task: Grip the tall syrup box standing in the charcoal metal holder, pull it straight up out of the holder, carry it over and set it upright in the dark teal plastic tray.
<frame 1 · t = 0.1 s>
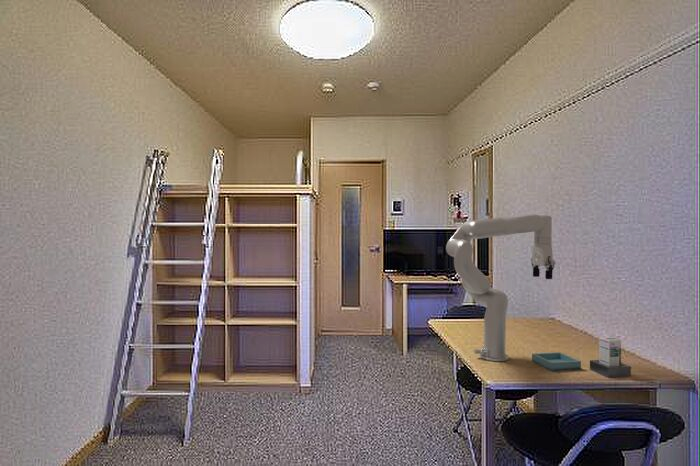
hand: (542, 277, 213), 37 cm above the table, tool pointing down, fingers open, 9 cm apart
holder: (609, 372, 189), on the table
syrup box: (609, 373, 189), resting in holder
tray: (555, 365, 198), on the table
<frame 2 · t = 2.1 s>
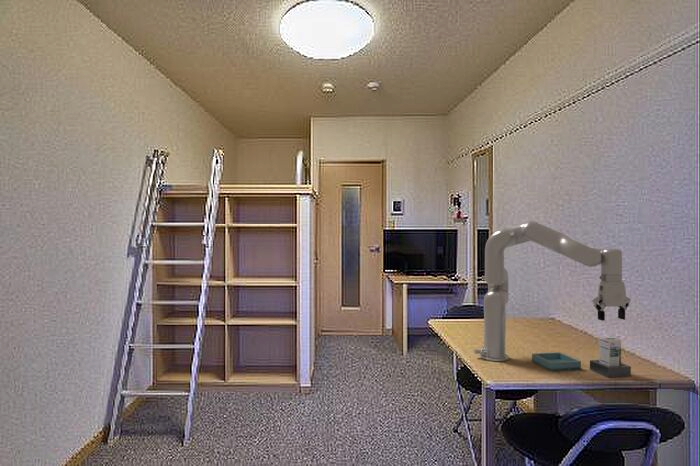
hand: (611, 319, 188), 22 cm above the table, tool pointing down, fingers open, 9 cm apart
nothing on the table moved.
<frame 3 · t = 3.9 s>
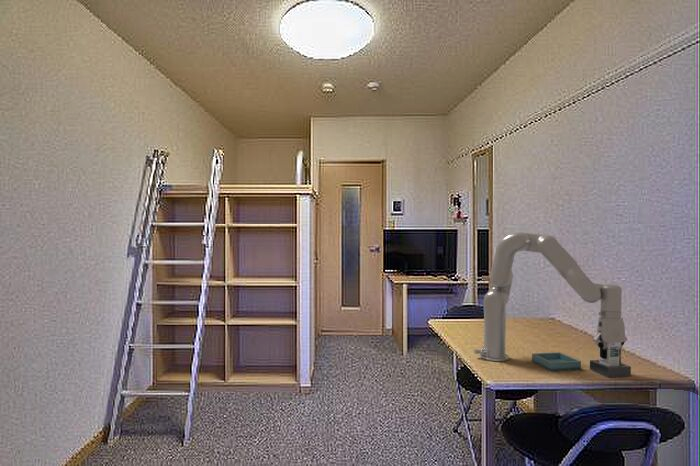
hand: (610, 357, 188), 7 cm above the table, tool pointing down, fingers closed on syrup box, 5 cm apart
syrup box: (609, 373, 189), resting in holder, touching gripper
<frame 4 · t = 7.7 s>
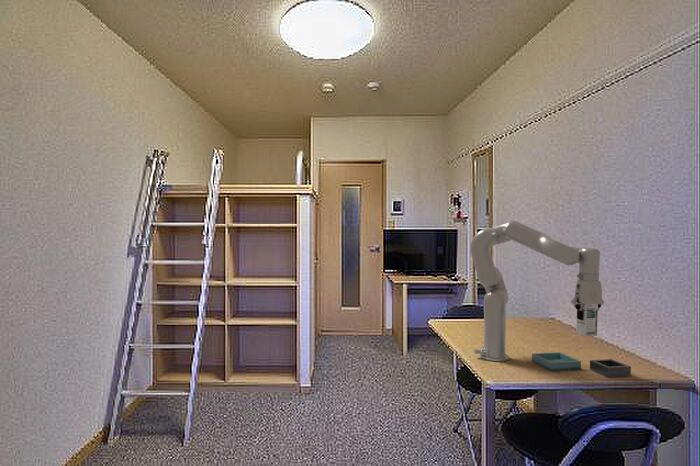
hand: (586, 319, 192), 22 cm above the table, tool pointing down, fingers closed on syrup box, 5 cm apart
syrup box: (586, 334, 192), point 15 cm above the table, touching gripper
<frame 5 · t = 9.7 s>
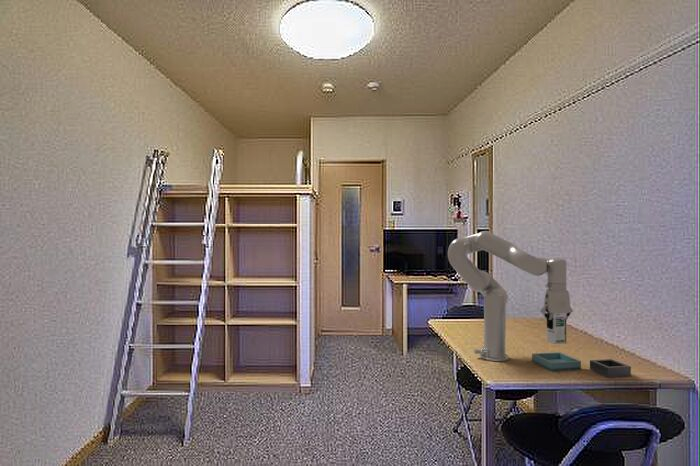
hand: (556, 327, 198), 17 cm above the table, tool pointing down, fingers closed on syrup box, 5 cm apart
syrup box: (556, 342, 198), point 10 cm above the table, touching gripper
when the fingers open (9 cm above the table, at t = 11.5 s): syrup box drops 1 cm, resting on tray.
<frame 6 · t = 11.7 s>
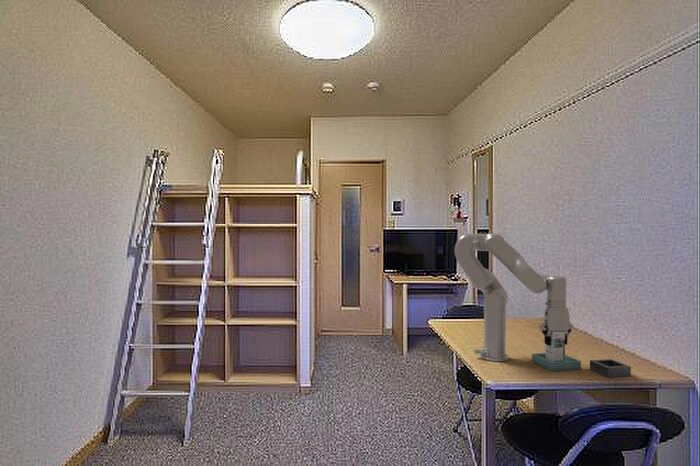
hand: (555, 344, 198), 9 cm above the table, tool pointing down, fingers open, 7 cm apart
syrup box: (554, 363, 198), point 1 cm above the table, touching tray
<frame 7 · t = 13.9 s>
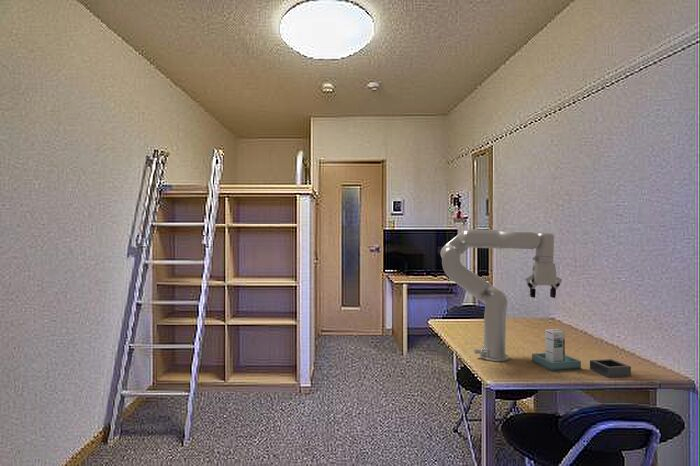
hand: (542, 297, 206), 29 cm above the table, tool pointing down, fingers open, 9 cm apart
nothing on the table moved.
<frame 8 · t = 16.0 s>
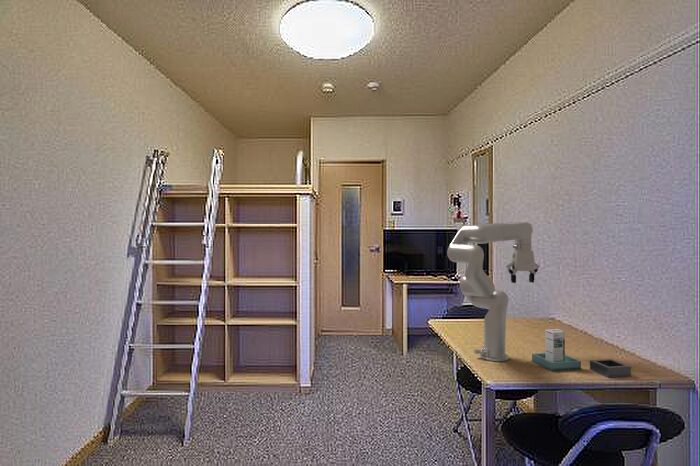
hand: (522, 282, 222), 33 cm above the table, tool pointing down, fingers open, 9 cm apart
nothing on the table moved.
at the end: syrup box inside the target area on the tray (0.4 cm from its centre), point 0.8 cm above the tray's base; syrup box tilted 0°; the gripper is holding nothing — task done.
